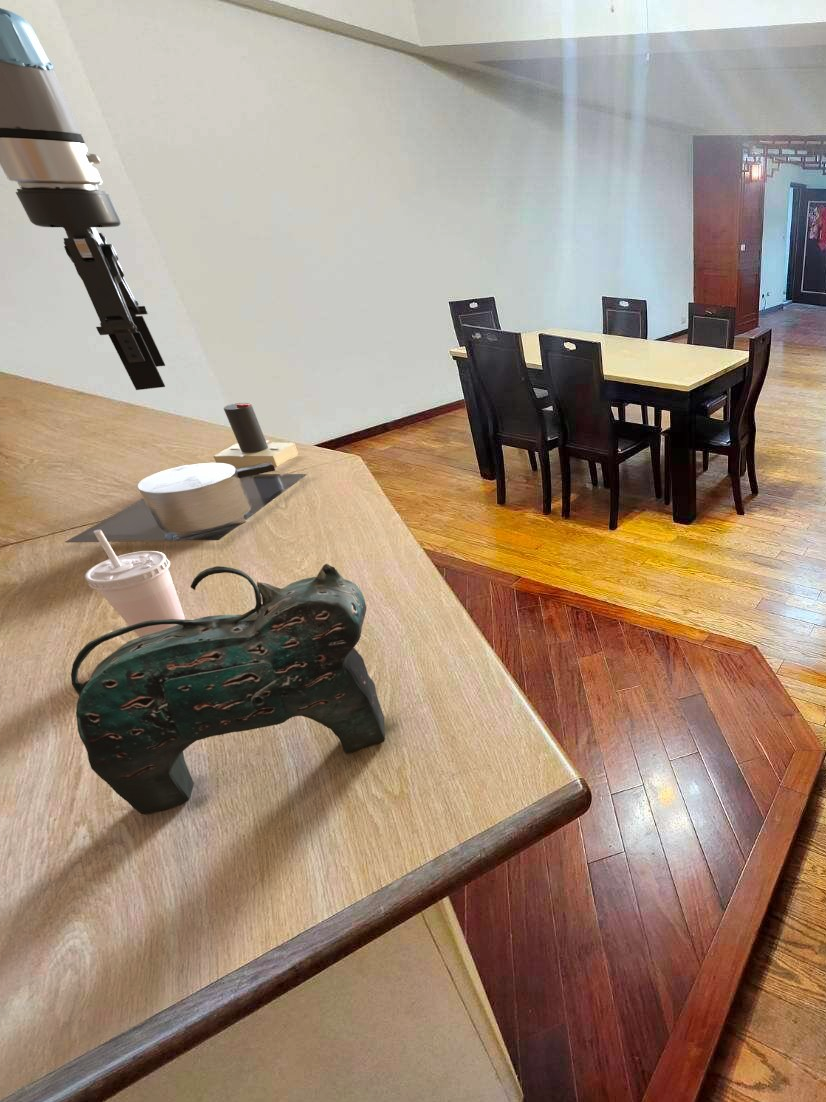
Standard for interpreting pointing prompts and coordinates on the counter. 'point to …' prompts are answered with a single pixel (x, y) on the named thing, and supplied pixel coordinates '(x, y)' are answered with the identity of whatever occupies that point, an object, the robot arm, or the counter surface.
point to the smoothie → (137, 587)
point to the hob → (143, 527)
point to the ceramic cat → (226, 684)
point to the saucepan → (199, 496)
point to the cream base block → (257, 455)
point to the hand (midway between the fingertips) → (151, 377)
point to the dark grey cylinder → (245, 427)
